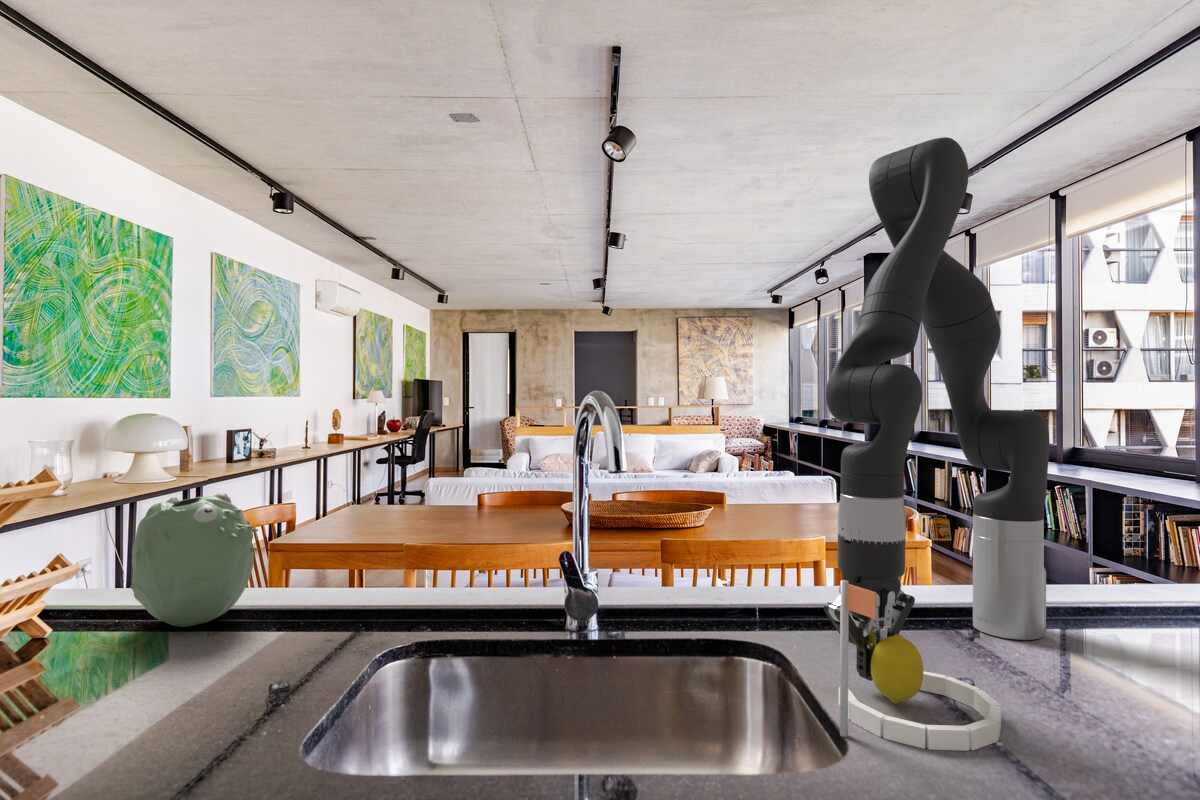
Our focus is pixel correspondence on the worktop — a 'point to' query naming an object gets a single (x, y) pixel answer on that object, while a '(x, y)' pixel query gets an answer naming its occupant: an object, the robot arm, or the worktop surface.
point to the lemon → (897, 668)
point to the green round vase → (192, 559)
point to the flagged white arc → (934, 683)
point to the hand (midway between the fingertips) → (869, 677)
